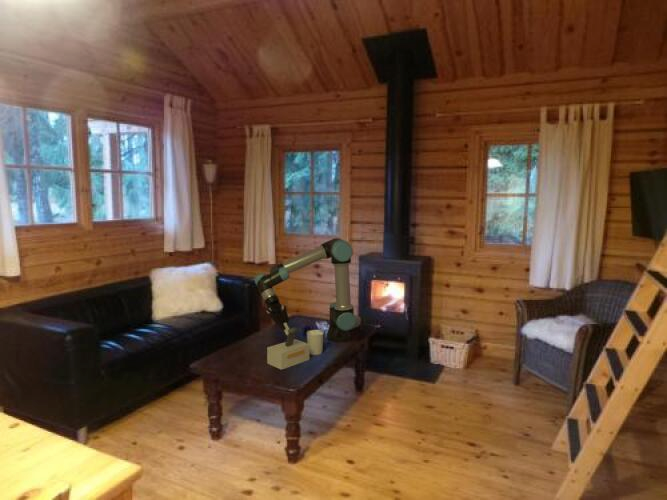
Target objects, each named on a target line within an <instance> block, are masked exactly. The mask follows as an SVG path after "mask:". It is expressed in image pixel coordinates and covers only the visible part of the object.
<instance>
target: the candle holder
mask: <svg viewBox="0 0 667 500" xmlns="http://www.w3.org/2000/svg"><path fill="white" fill-rule="evenodd" d="M306 341H307V342H306V343H307V344H309V355H312V356H318V355H321V354H322V353H323V347H324V346H323V345H324V331H323V330H320V329H311V330H307V331H306Z"/></svg>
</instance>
